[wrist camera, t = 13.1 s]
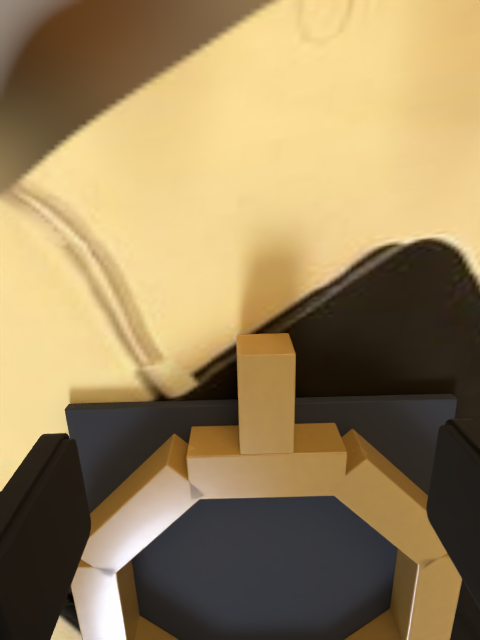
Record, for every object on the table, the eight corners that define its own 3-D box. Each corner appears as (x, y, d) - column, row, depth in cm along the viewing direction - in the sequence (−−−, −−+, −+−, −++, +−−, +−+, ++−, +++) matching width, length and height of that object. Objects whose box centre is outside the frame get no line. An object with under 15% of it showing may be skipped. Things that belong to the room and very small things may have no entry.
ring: (47, 338, 16) (22, 360, 14) (477, 327, 16) (509, 348, 14) (113, 689, 22) (102, 737, 21) (416, 681, 22) (433, 727, 21)
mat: (68, 403, 17) (64, 409, 17) (452, 392, 17) (458, 399, 17) (119, 687, 23) (117, 698, 23) (406, 679, 23) (410, 689, 23)
